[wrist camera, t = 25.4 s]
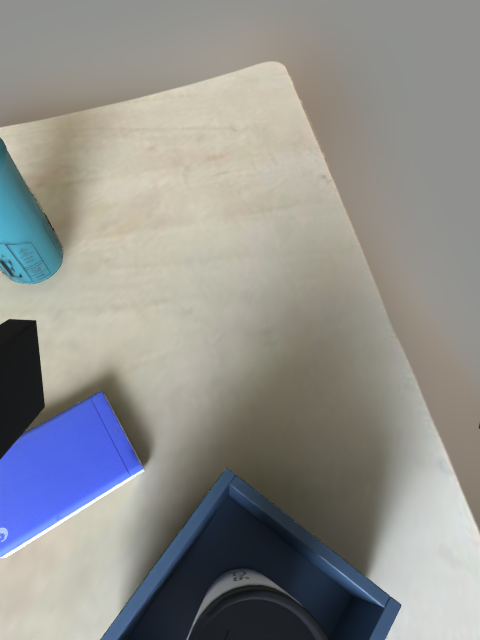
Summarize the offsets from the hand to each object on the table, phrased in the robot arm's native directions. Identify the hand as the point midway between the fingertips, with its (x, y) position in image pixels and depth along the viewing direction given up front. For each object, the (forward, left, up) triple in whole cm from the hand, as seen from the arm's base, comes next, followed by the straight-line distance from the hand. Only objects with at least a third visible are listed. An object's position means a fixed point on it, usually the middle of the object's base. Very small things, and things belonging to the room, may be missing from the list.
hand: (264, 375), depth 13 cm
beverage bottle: (+30, -5, -29) cm, 42 cm away
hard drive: (+13, +8, -29) cm, 33 cm away
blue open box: (-6, +7, -29) cm, 30 cm away
